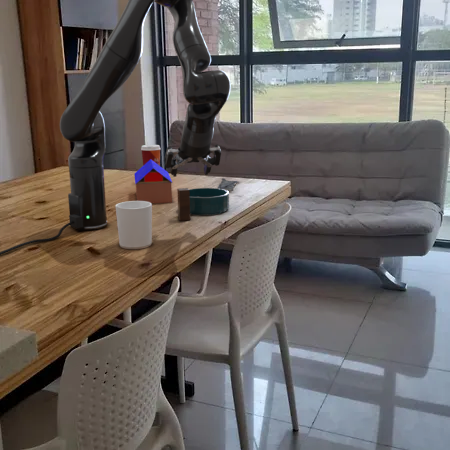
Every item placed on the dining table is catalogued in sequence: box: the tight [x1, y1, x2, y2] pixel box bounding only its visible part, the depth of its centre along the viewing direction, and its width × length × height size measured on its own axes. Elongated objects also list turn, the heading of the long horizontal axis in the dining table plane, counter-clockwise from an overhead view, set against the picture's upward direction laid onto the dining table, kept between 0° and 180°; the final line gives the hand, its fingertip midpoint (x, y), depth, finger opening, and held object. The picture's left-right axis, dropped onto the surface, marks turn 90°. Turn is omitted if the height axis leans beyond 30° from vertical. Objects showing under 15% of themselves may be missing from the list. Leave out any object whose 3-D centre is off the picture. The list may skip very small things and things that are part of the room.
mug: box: [115, 200, 153, 250], centre depth 149 cm, size 11×9×10 cm
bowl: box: [188, 187, 230, 216], centre depth 184 cm, size 15×15×6 cm
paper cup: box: [140, 144, 162, 167], centre depth 229 cm, size 8×8×14 cm
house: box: [133, 159, 173, 204], centre depth 202 cm, size 12×20×12 cm, turn 9°
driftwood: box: [217, 177, 239, 191], centre depth 218 cm, size 21×7×2 cm, turn 173°
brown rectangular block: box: [177, 187, 191, 222], centre depth 172 cm, size 3×3×9 cm
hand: (189, 173), depth 159 cm, fingers open, 8 cm apart
